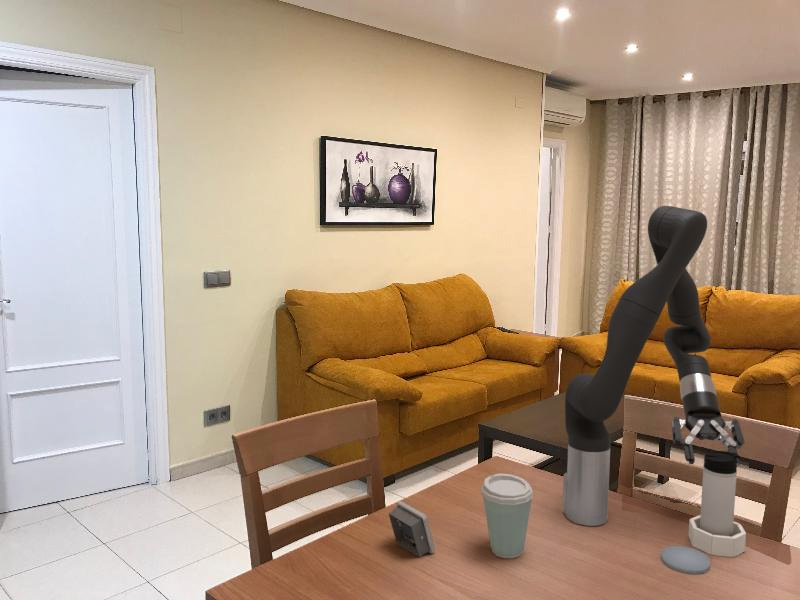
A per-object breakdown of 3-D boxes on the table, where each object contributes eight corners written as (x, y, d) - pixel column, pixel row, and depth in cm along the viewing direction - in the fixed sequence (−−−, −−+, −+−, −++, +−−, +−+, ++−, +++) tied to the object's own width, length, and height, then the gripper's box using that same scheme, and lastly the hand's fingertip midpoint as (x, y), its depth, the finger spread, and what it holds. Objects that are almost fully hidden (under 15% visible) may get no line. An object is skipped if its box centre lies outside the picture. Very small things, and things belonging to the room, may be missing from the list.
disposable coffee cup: (543, 553, 132) (545, 484, 130) (506, 571, 125) (508, 498, 123) (505, 533, 140) (506, 468, 138) (469, 549, 133) (470, 480, 132)
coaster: (651, 557, 130) (651, 553, 130) (679, 546, 135) (679, 541, 134) (691, 579, 122) (692, 574, 122) (719, 565, 127) (719, 561, 127)
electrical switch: (436, 553, 132) (433, 512, 130) (416, 564, 129) (413, 521, 127) (407, 536, 139) (404, 496, 137) (389, 545, 136) (385, 505, 134)
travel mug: (737, 553, 132) (743, 459, 129) (703, 549, 133) (708, 457, 131) (728, 538, 138) (734, 449, 135) (695, 535, 139) (701, 446, 137)
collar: (679, 540, 137) (680, 522, 137) (708, 528, 142) (709, 511, 142) (724, 561, 129) (725, 542, 128) (753, 547, 134) (754, 529, 133)
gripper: (670, 388, 146) (682, 454, 136) (736, 390, 144) (753, 458, 134) (663, 404, 152) (674, 469, 142) (727, 406, 150) (742, 472, 140)
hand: (713, 463), depth 138 cm, fingers open, 8 cm apart
